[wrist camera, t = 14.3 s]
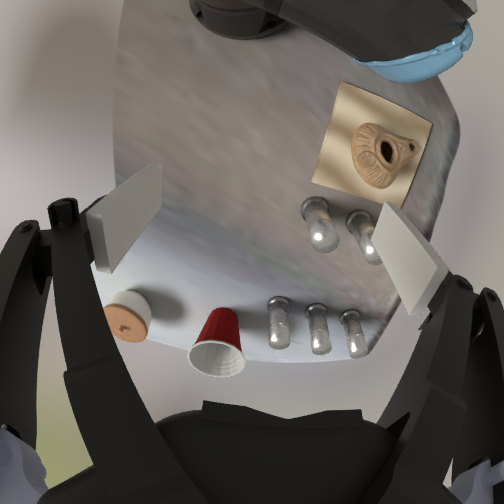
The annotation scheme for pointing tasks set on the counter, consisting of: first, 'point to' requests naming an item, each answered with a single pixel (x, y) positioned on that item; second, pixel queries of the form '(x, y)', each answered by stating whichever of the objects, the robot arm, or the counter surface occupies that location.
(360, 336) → the posts
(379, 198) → the ash board
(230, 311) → the plastic cup
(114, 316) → the lidded jar
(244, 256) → the counter surface
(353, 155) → the pottery oil lamp
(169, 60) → the counter surface
